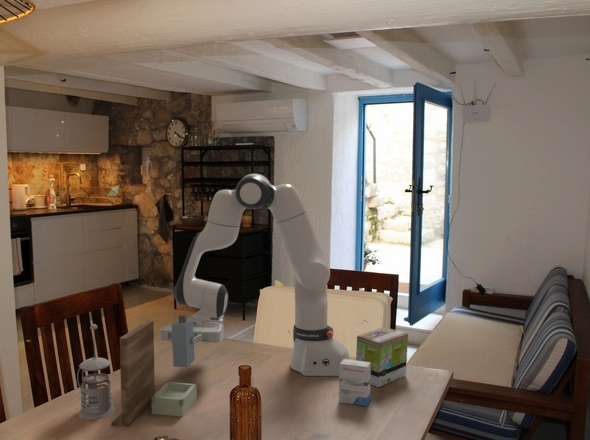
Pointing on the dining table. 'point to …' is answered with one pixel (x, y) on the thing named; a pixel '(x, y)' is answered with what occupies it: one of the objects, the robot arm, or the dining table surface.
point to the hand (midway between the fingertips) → (182, 341)
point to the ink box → (354, 382)
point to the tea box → (383, 354)
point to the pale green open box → (174, 399)
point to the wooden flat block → (136, 373)
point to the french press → (95, 389)
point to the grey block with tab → (182, 342)
